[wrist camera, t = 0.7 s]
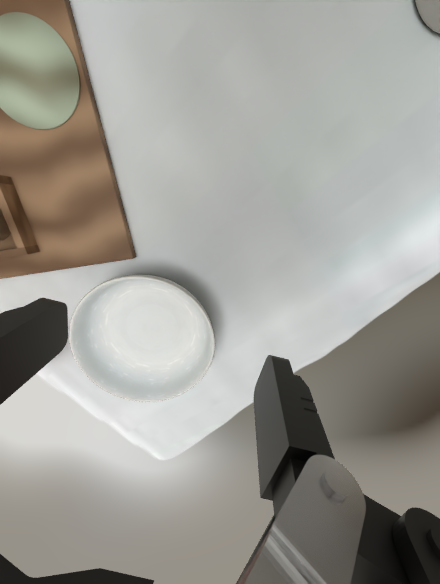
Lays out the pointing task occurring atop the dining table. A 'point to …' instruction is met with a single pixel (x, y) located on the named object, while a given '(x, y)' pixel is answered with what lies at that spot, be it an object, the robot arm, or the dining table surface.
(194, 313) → the serving bowl
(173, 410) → the dining table surface
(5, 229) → the tan capped cream canister
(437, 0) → the cylinder vase
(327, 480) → the robot arm
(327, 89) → the dining table surface
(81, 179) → the walnut board
